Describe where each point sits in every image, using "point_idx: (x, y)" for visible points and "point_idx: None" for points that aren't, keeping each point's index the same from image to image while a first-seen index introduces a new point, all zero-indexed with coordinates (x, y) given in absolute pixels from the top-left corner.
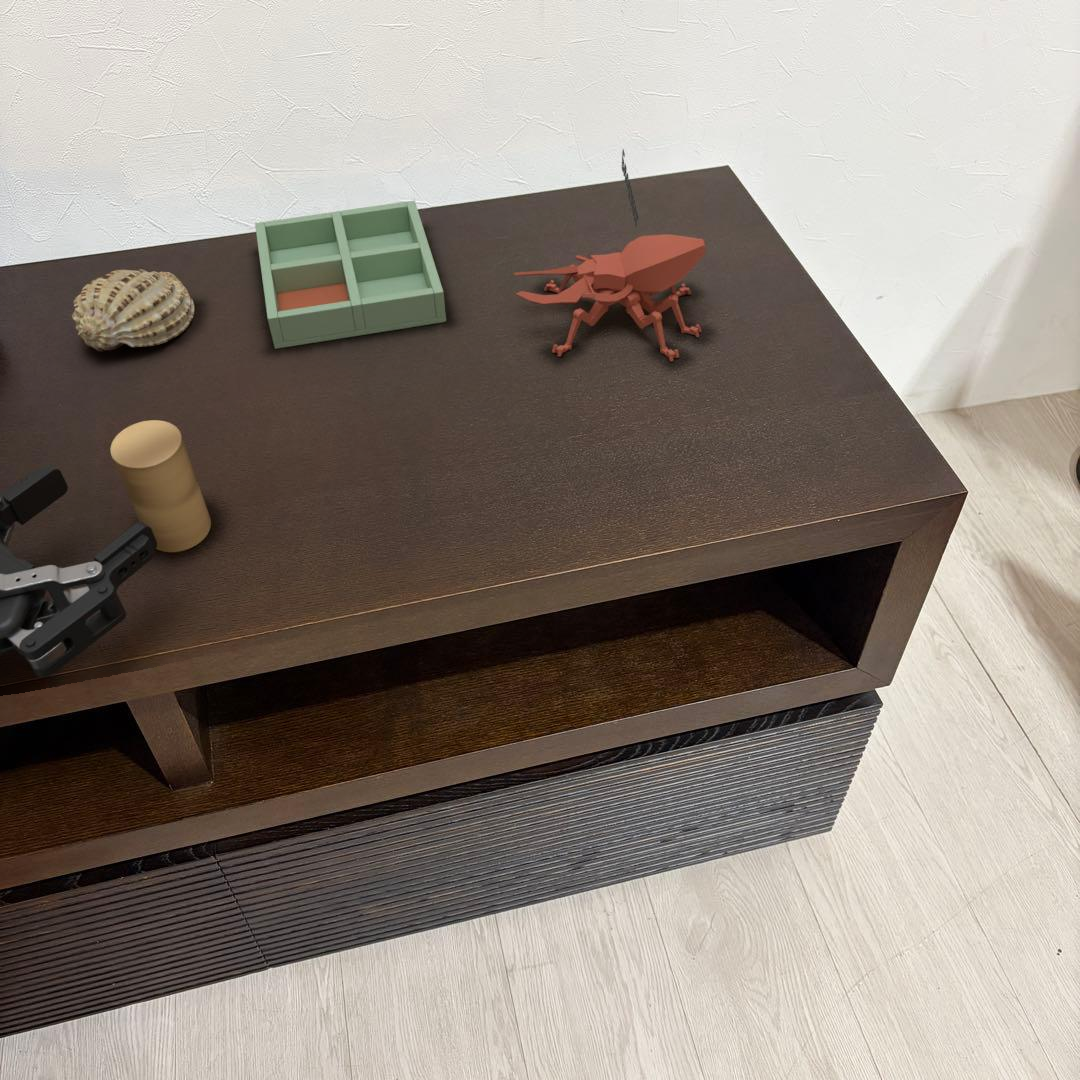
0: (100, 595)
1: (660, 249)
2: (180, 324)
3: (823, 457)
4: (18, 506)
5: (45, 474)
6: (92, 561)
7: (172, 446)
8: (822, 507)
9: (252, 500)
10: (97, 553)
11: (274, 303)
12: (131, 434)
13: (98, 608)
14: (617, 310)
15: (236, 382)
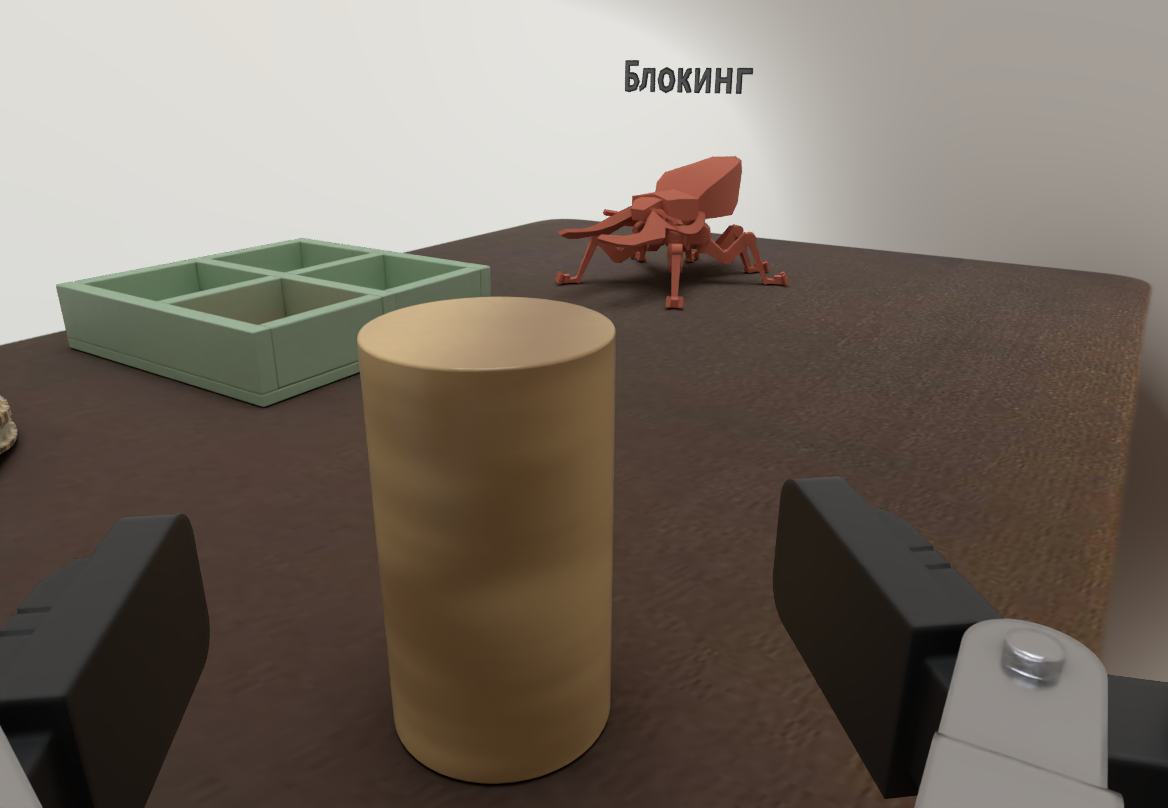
0: None
1: (712, 165)
2: (5, 427)
3: (1042, 291)
4: (99, 736)
5: (156, 538)
6: (967, 631)
7: (577, 311)
8: (1130, 309)
9: None
10: (895, 609)
11: (236, 321)
12: (406, 329)
13: None
14: (659, 278)
15: (246, 458)
